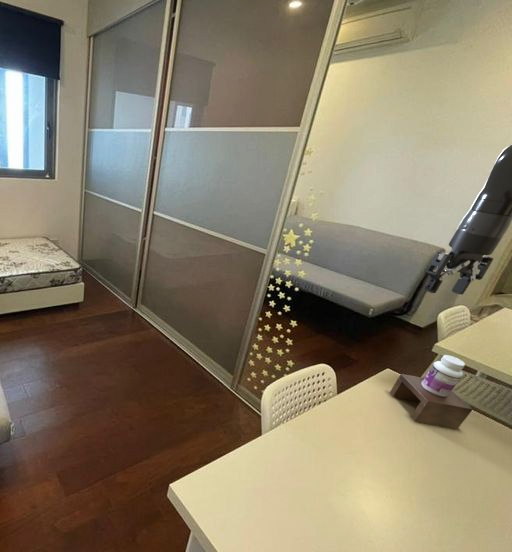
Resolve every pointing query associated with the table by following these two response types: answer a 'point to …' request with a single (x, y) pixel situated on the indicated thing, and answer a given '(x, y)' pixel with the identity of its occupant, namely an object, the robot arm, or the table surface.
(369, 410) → the table surface
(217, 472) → the table surface
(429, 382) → the pill bottle
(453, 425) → the shelf
